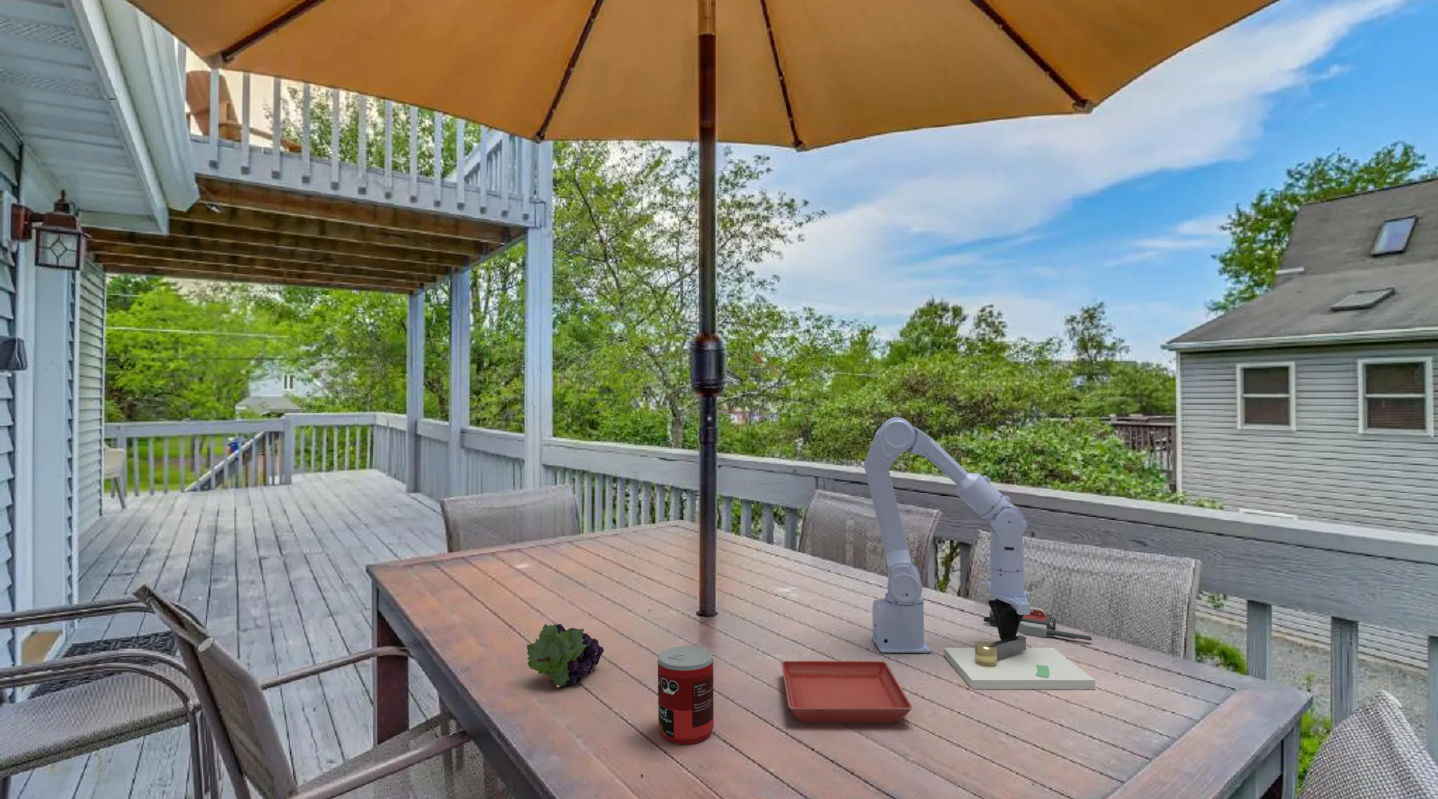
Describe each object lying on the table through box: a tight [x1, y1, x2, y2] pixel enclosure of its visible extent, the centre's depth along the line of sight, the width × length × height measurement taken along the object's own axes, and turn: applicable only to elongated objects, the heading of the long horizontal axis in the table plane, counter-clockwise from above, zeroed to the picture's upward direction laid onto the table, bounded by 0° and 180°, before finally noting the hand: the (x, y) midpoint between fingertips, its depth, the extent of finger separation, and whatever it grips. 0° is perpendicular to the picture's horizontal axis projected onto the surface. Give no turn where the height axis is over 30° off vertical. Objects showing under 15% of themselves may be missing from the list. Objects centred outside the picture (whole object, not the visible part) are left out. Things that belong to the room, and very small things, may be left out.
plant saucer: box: [780, 660, 913, 724], centre depth 103 cm, size 18×18×3 cm
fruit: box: [526, 623, 605, 687], centre depth 112 cm, size 10×10×15 cm
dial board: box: [943, 647, 1096, 690], centre depth 114 cm, size 20×14×2 cm
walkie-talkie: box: [983, 605, 1093, 641], centre depth 134 cm, size 9×4×20 cm
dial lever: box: [974, 634, 1027, 665], centre depth 116 cm, size 12×4×3 cm, turn 119°
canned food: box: [657, 645, 715, 745], centre depth 94 cm, size 8×8×11 cm
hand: (1007, 641), depth 121 cm, fingers closed
